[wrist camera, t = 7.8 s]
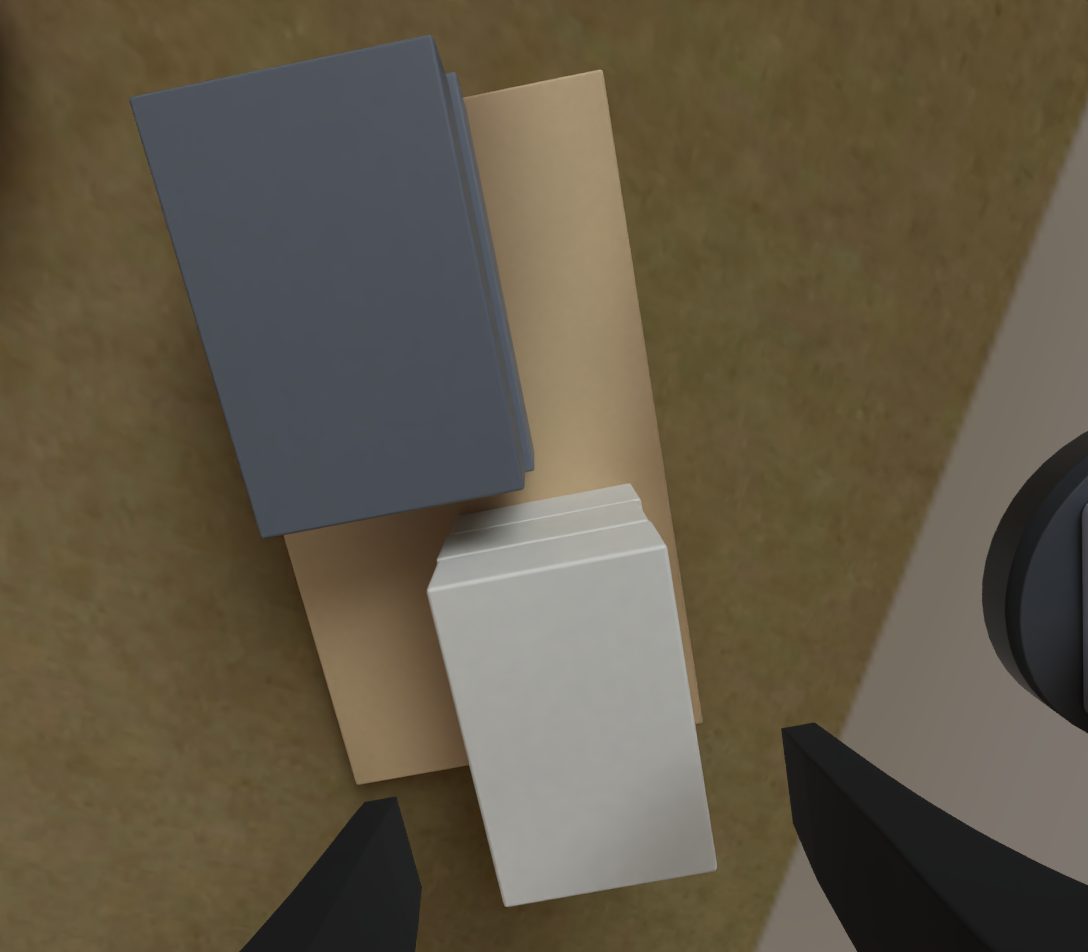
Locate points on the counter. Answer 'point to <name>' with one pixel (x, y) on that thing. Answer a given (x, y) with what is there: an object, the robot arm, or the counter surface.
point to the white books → (543, 520)
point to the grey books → (343, 283)
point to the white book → (575, 712)
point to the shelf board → (552, 410)
